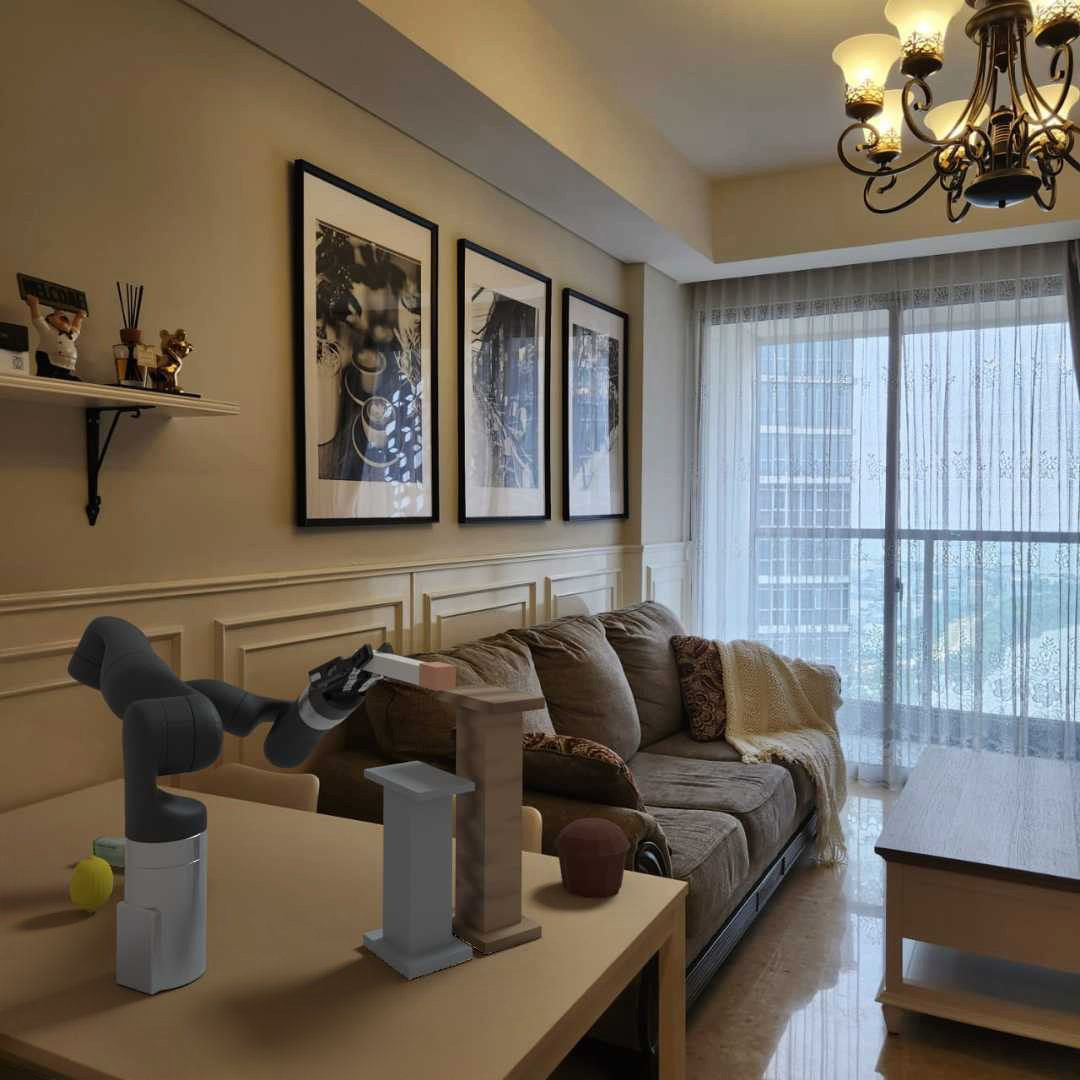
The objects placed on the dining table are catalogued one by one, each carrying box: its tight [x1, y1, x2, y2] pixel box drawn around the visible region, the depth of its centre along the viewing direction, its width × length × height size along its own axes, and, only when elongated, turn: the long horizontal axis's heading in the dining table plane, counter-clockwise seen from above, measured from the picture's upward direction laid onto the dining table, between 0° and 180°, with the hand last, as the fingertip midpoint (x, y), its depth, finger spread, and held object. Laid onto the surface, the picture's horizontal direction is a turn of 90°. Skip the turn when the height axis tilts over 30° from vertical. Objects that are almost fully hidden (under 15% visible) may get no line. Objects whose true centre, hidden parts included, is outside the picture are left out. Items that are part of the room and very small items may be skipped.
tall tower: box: [436, 683, 546, 955], centre depth 125 cm, size 14×9×32 cm, turn 38°
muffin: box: [553, 817, 632, 899], centre depth 141 cm, size 12×11×10 cm
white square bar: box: [354, 649, 457, 692], centre depth 122 cm, size 22×3×3 cm, turn 38°
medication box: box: [92, 835, 125, 868], centre depth 149 cm, size 12×3×4 cm, turn 73°
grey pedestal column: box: [362, 760, 475, 980], centre depth 118 cm, size 14×9×22 cm, turn 38°
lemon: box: [68, 854, 114, 914], centre depth 130 cm, size 6×6×8 cm
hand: (379, 649), depth 126 cm, fingers closed on white square bar, 2 cm apart
